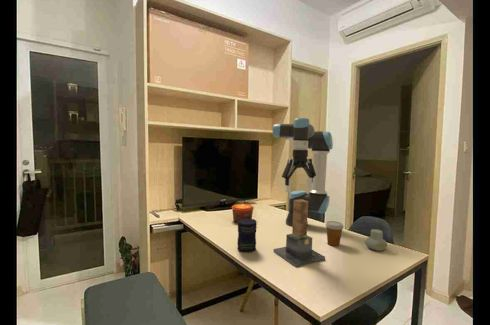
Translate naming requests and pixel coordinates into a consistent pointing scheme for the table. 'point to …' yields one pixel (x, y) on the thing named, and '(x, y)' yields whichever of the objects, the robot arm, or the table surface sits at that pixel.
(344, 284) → the table surface
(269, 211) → the table surface
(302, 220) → the column
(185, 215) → the table surface
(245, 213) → the food container
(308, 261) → the grey socket base
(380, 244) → the air freshener
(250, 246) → the storage jar
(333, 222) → the disposable coffee cup
